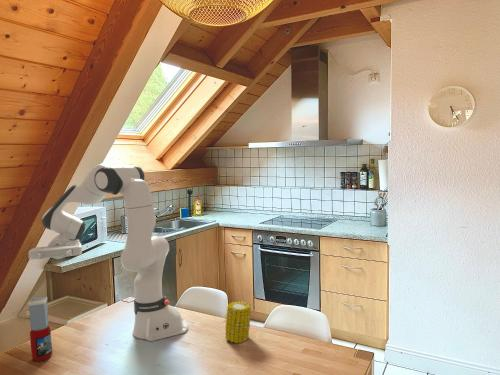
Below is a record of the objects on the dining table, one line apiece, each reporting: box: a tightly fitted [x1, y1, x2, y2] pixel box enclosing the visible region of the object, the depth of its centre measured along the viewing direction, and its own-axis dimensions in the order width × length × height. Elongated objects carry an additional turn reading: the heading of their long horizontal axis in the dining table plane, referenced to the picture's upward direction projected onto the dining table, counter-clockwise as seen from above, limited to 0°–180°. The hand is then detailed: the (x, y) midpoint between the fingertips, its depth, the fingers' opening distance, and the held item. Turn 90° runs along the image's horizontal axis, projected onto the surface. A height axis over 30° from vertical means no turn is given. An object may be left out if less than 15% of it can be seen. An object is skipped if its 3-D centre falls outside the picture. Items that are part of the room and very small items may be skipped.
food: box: [224, 300, 252, 344], centre depth 159 cm, size 15×12×10 cm
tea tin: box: [28, 296, 50, 331], centre depth 148 cm, size 5×5×10 cm
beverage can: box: [29, 324, 53, 362], centre depth 149 cm, size 7×7×12 cm
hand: (53, 256), depth 162 cm, fingers open, 8 cm apart
